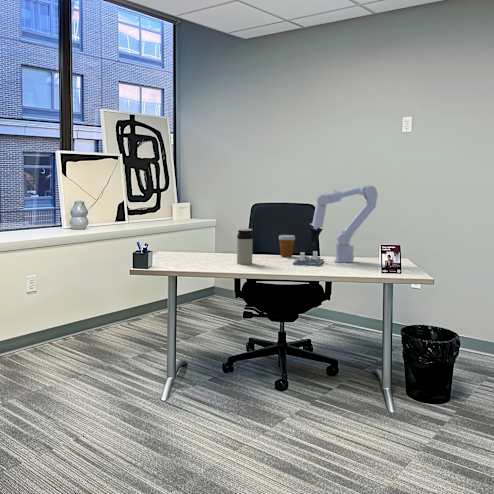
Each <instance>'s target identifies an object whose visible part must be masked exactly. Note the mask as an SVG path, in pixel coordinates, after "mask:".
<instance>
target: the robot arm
mask: <svg viewBox="0 0 494 494" xmlns="http://www.w3.org/2000/svg"><path fill="white" fill-rule="evenodd" d="M355 195H360V196H363V197H364V199H365V200H364V201H365V205H364V206H363V207H362V208H361V210H360V211H359V212H358V213H357V214H356V215H355V217H354V218H353V219H352V220H351V221H350V223H349V224H348V225H347V226H346V227H345V228H344V229H343V230H342V231H340V232H339V233H337V235H336V240H337V243H336V244H335V245H336V248H335V260H334V263H351V264H352V263H353V262H354V260H355V259H354V251H355V250H354V248H355V247H354V245H351V243H350V241H351V238H352V237H353V235H354V234H355V232H356V231H357V229H358V228H359V227H360V226H361V225H362V223H364V222H365V220H366V219H367V218H368V217H369V215H370V214H371V213H372V212H373V211H374V210H375V208H376V206H377V200H378V196H379V195H378V190H377V187H375V186H373V185H366V186H364V185H363V186H357V187H354V188H350V189H346V190H344V191H340V190H336V189H334V190H333V191H331V192H324V194H320V195H319V196H317V198H316V205H315V206H316V207H315V209H314V214H313V219H312V223H311V222H310V223H309V225H310V226H312V227H310V234H311V235H310V236H311V237H310V240H311V242H312V243H316V242H317V241H318V240H319V237H320V234H321V233H322V231H323V227H324V226H323V225H324V221H325V216H326V211H327V205H328V204H330V205H331V204H334V203H337V202H340V201H342V199H343V198H347V197H351V196H355Z"/></svg>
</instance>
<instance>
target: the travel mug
mask: <svg viewBox="0 0 494 494" xmlns="http://www.w3.org/2000/svg"><path fill="white" fill-rule="evenodd" d="M237 231H238V233H237V235H236V238H237V239H236V241H237V242H236V244H237V245H236V263H237V264H239V265H243V266H245V265H251V264H253V242H254V240H253V234H252V231H253V228H237Z"/></svg>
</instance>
